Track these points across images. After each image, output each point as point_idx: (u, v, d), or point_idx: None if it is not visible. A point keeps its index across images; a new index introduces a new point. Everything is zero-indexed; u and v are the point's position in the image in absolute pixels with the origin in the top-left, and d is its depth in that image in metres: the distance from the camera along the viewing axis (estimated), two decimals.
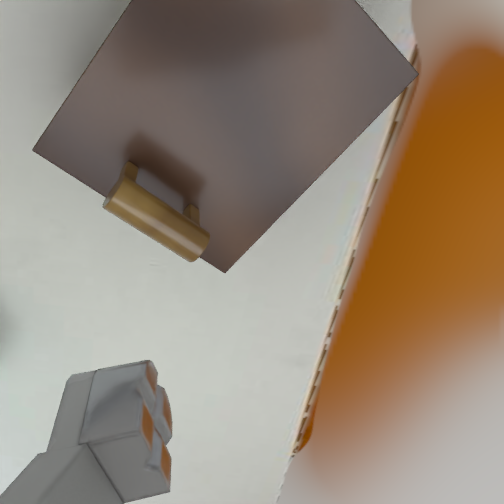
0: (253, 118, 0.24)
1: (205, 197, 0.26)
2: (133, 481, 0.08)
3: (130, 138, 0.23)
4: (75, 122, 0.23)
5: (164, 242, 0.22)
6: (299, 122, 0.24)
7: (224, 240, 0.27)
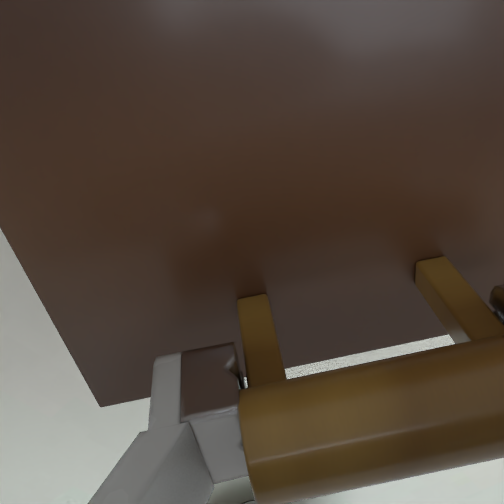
0: None
1: (437, 225, 0.10)
2: (226, 461, 0.08)
3: (199, 265, 0.10)
4: (98, 325, 0.10)
5: (463, 465, 0.07)
6: None
7: None
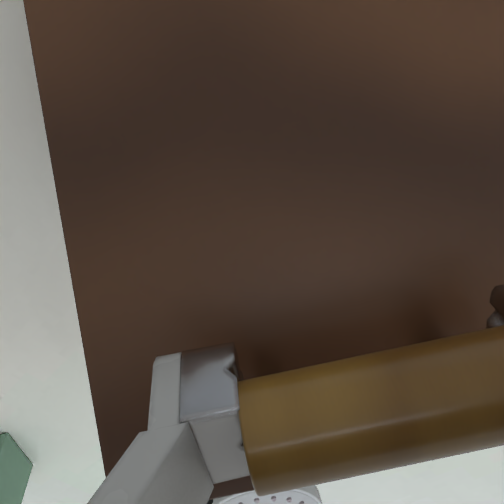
0: (348, 117, 0.12)
1: (429, 306, 0.11)
2: (225, 461, 0.08)
3: (223, 340, 0.11)
4: (130, 402, 0.11)
5: (463, 437, 0.07)
6: (414, 50, 0.12)
7: None
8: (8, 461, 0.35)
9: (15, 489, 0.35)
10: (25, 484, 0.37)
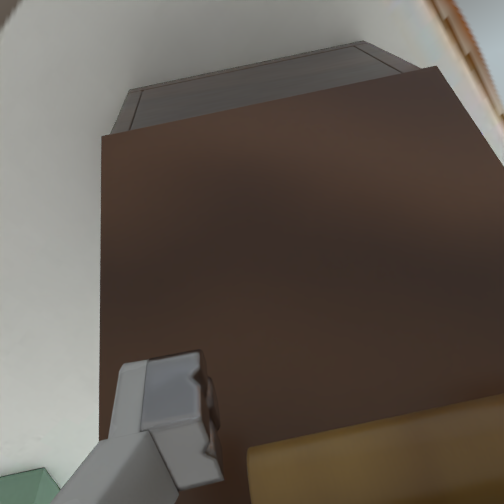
0: (362, 248, 0.13)
1: None
2: (189, 469, 0.08)
3: (244, 458, 0.10)
4: None
5: (500, 493, 0.06)
6: (413, 198, 0.14)
7: None
8: (45, 494, 0.39)
9: None
10: None
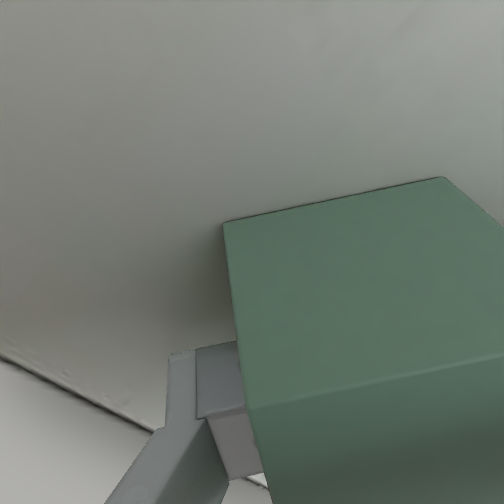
0: None
1: None
2: (241, 458, 0.08)
3: None
4: None
5: None
6: None
7: None
8: None
9: None
10: None
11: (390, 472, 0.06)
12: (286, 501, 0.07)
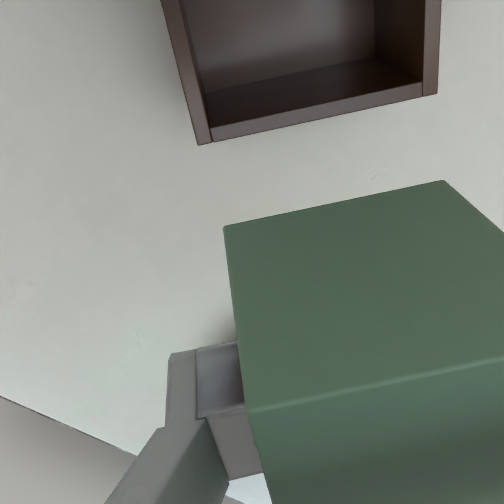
0: None
1: None
2: (241, 458, 0.08)
3: None
4: None
5: None
6: None
7: None
8: None
9: None
10: None
11: (389, 475, 0.07)
12: None
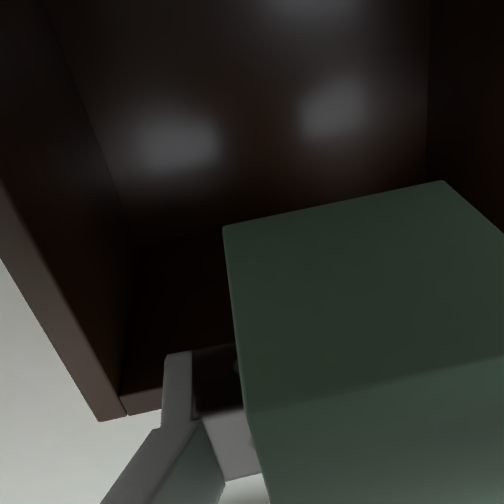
0: None
1: None
2: (237, 459, 0.08)
3: None
4: None
5: None
6: None
7: None
8: None
9: None
10: None
11: (388, 475, 0.07)
12: None
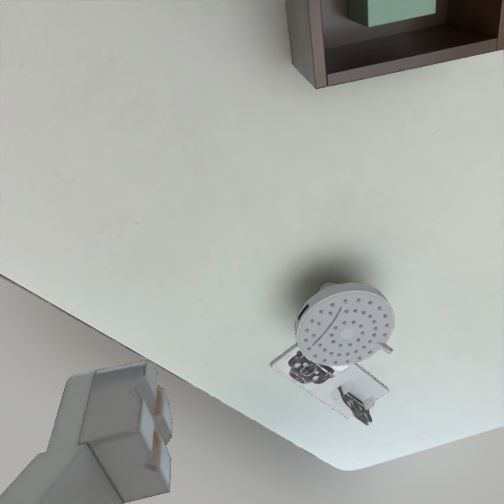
0: None
1: None
2: (133, 481, 0.08)
3: None
4: None
5: None
6: None
7: None
8: None
9: None
10: None
11: None
12: None
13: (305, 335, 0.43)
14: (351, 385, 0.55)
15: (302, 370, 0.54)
